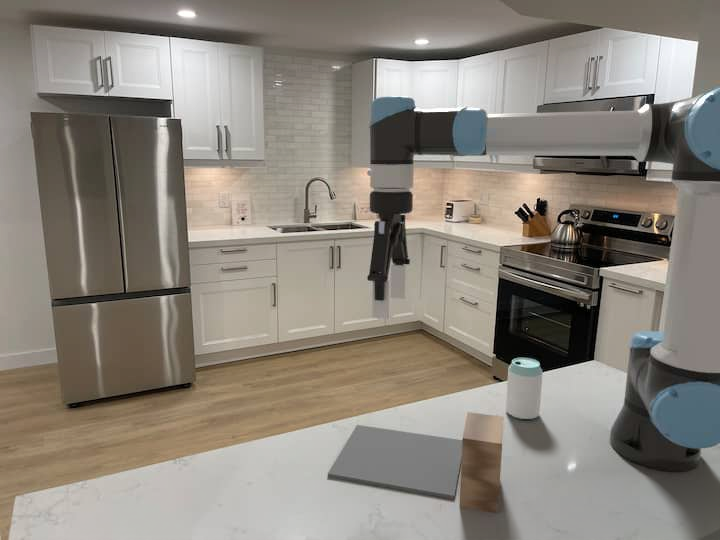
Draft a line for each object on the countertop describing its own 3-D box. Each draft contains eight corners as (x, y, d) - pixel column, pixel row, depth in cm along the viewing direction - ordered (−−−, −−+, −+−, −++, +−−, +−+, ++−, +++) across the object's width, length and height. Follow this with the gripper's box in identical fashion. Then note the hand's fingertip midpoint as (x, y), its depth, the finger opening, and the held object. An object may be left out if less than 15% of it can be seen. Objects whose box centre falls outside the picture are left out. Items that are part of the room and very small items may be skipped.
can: (521, 424, 110) (525, 370, 108) (498, 410, 116) (501, 359, 114) (546, 417, 114) (550, 364, 111) (522, 403, 120) (525, 354, 117)
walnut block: (499, 480, 91) (503, 416, 89) (497, 513, 83) (502, 443, 80) (464, 474, 93) (467, 412, 90) (459, 506, 84) (462, 438, 82)
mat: (464, 443, 103) (464, 440, 103) (454, 499, 86) (454, 495, 86) (357, 427, 109) (357, 424, 109) (327, 476, 92) (327, 473, 92)
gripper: (387, 186, 104) (385, 289, 109) (349, 193, 81) (349, 325, 85) (424, 186, 102) (421, 292, 107) (396, 194, 79) (394, 329, 83)
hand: (389, 307), depth 96 cm, fingers open, 13 cm apart
